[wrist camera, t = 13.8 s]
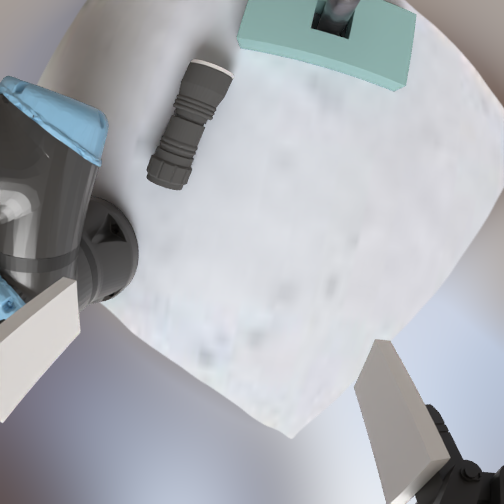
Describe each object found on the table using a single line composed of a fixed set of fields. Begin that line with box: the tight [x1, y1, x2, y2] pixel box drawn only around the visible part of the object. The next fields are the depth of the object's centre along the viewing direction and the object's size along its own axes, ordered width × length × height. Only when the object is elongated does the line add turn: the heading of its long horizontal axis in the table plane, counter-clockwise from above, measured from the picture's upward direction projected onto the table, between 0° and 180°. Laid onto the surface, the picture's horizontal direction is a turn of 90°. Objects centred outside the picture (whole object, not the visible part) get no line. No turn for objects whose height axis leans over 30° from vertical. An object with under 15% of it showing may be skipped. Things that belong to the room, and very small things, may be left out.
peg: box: [317, 0, 360, 36], centre depth 25 cm, size 3×3×14 cm
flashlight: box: [147, 59, 234, 190], centre depth 34 cm, size 15×5×5 cm, turn 157°
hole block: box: [237, 0, 416, 91], centre depth 30 cm, size 20×11×4 cm, turn 77°
